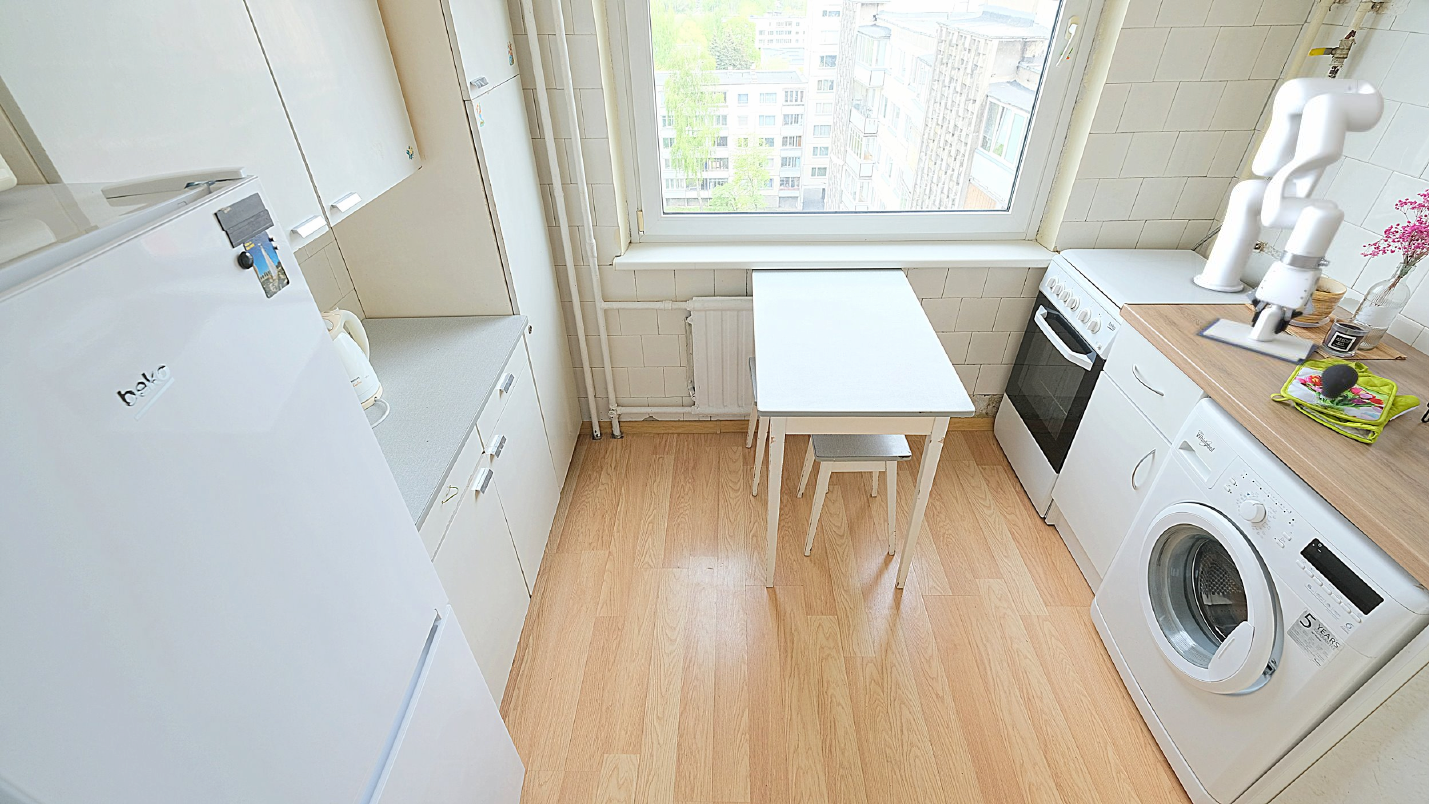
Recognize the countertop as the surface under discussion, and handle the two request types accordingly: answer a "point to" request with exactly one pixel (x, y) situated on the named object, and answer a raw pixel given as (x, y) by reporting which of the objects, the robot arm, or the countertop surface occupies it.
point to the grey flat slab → (1278, 348)
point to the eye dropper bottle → (1268, 323)
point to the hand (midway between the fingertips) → (1266, 328)
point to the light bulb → (1337, 381)
